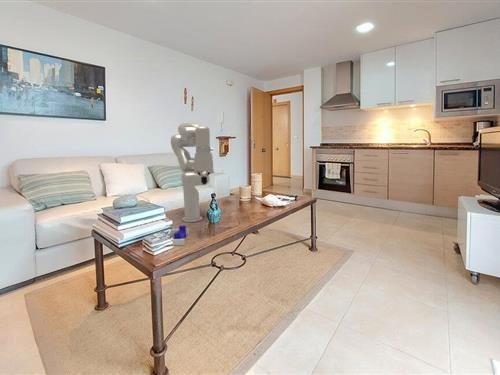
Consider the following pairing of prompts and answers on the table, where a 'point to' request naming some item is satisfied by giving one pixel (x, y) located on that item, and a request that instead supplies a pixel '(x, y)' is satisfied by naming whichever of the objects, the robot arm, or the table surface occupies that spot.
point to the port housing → (178, 241)
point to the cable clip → (180, 233)
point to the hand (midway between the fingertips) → (204, 184)
